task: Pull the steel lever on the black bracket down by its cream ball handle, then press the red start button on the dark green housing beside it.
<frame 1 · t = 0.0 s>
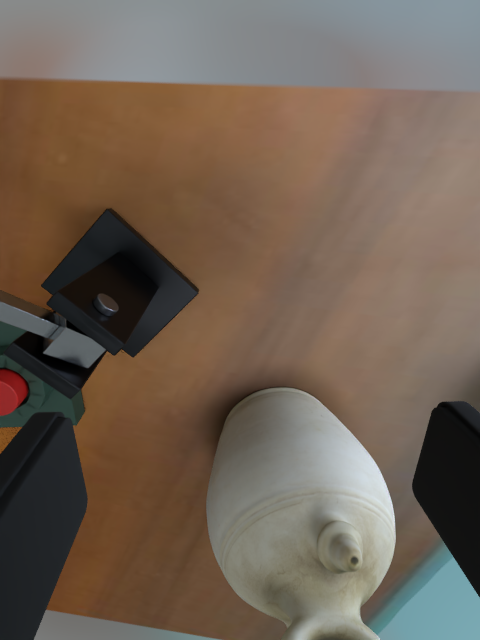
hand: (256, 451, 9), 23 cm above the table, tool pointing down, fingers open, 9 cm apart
bracket: (124, 286, 30), on the table
button box: (28, 365, 32), on the table
button: (0, 392, 28), point 4 cm above the table, slide at 0.1 cm
jug: (277, 431, 37), on the table
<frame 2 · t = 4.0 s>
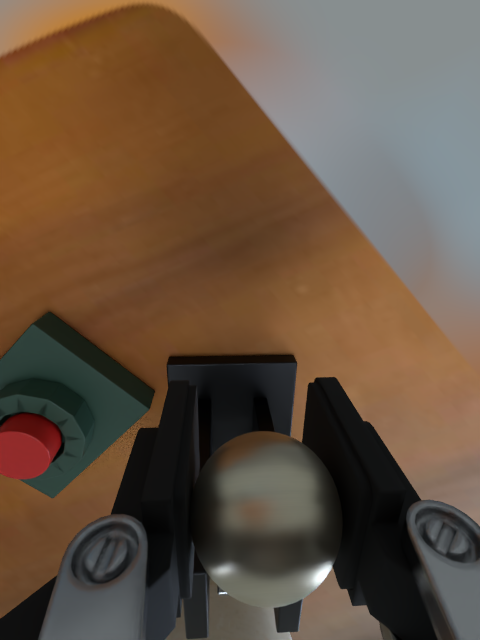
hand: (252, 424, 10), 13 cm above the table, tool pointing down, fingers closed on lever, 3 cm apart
bracket: (231, 413, 26), on the table
lever: (248, 544, 11), point 14 cm above the table, hinge at 28.0°, touching gripper
button box: (58, 401, 24), on the table
button: (25, 445, 20), point 4 cm above the table, slide at 0.1 cm
jug: (216, 595, 34), on the table
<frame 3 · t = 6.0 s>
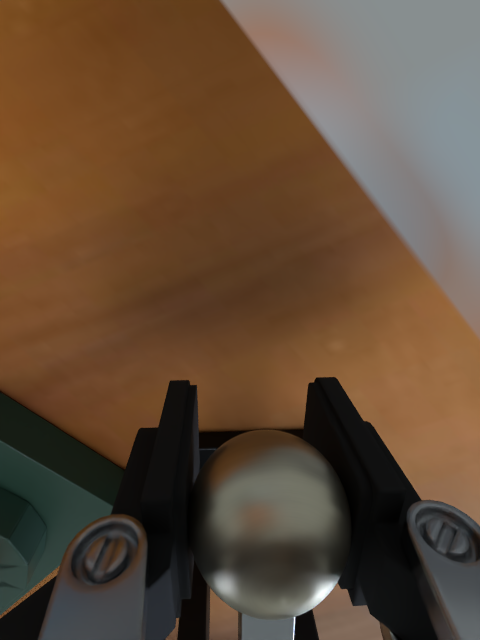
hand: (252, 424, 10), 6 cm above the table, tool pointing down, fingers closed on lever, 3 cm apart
bracket: (236, 499, 19), on the table
button box: (2, 491, 18), on the table
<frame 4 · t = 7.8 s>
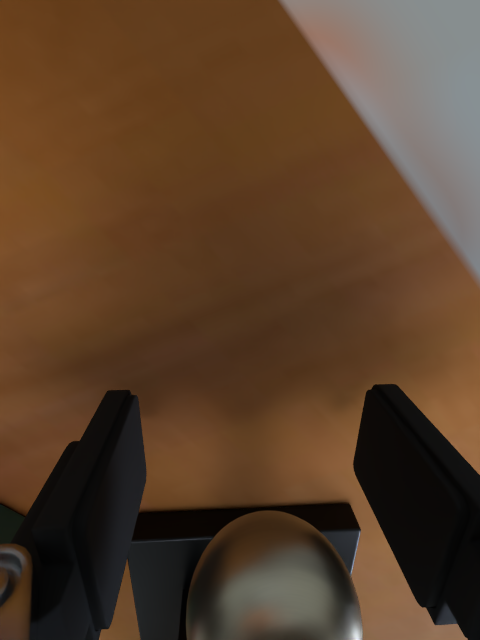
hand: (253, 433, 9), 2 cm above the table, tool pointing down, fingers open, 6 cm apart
bracket: (241, 585, 15), on the table
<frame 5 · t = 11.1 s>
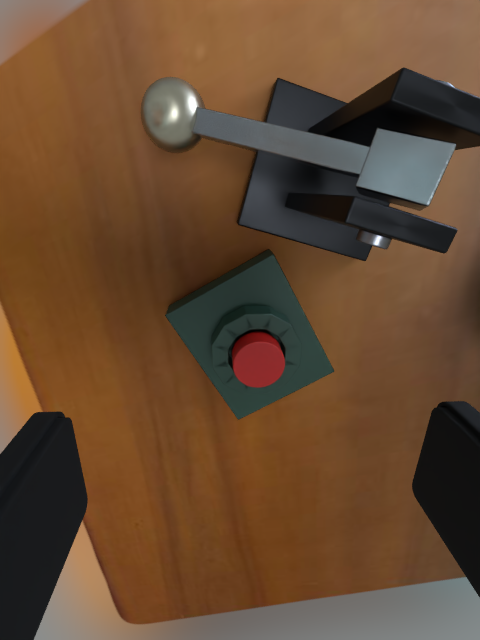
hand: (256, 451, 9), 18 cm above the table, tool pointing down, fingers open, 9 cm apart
bracket: (321, 179, 24), on the table
lever: (274, 141, 15), point 8 cm above the table, hinge at -26.7°
button box: (251, 333, 28), on the table
button: (257, 359, 24), point 4 cm above the table, slide at 0.1 cm
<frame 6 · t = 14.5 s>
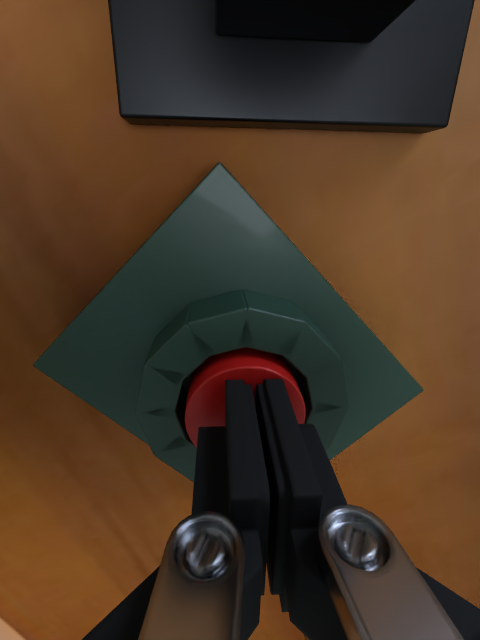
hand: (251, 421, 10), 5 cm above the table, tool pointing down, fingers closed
button box: (236, 351, 14), on the table
button: (243, 402, 11), point 4 cm above the table, slide at -0.8 cm, touching gripper
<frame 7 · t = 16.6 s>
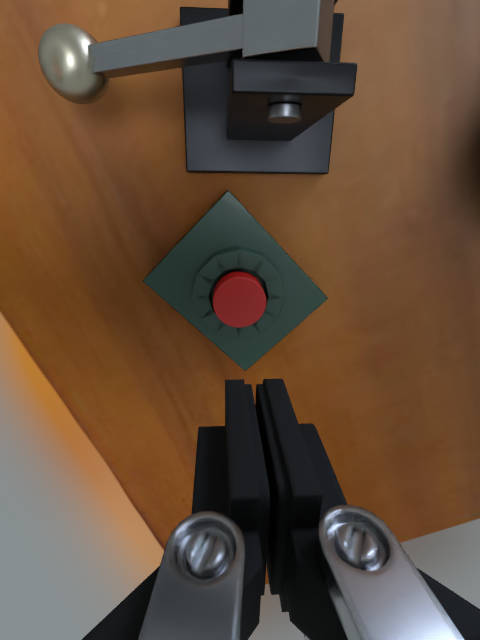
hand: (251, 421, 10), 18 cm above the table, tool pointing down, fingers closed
bracket: (258, 101, 23), on the table
lever: (165, 50, 15), point 8 cm above the table, hinge at -26.7°
button box: (236, 282, 27), on the table
button: (239, 299, 23), point 4 cm above the table, slide at 0.1 cm
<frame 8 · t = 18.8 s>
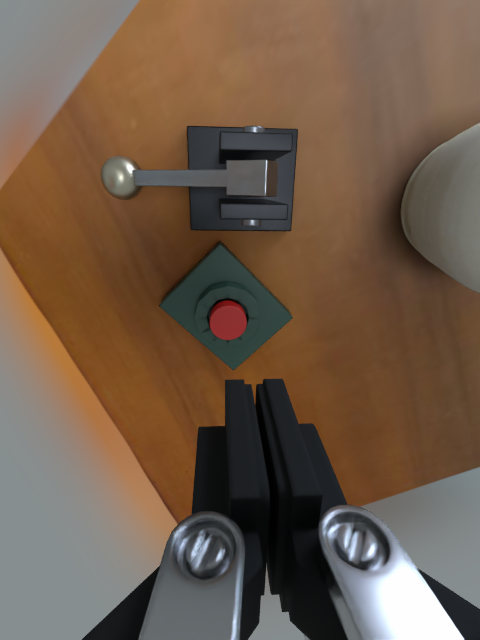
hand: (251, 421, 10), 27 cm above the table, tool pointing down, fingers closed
bracket: (241, 182, 32), on the table
lever: (181, 178, 24), point 8 cm above the table, hinge at -26.7°
button box: (226, 305, 37), on the table
button: (228, 320, 33), point 4 cm above the table, slide at 0.1 cm
jug: (457, 200, 35), on the table
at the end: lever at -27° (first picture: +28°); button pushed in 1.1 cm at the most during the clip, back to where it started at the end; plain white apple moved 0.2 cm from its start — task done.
